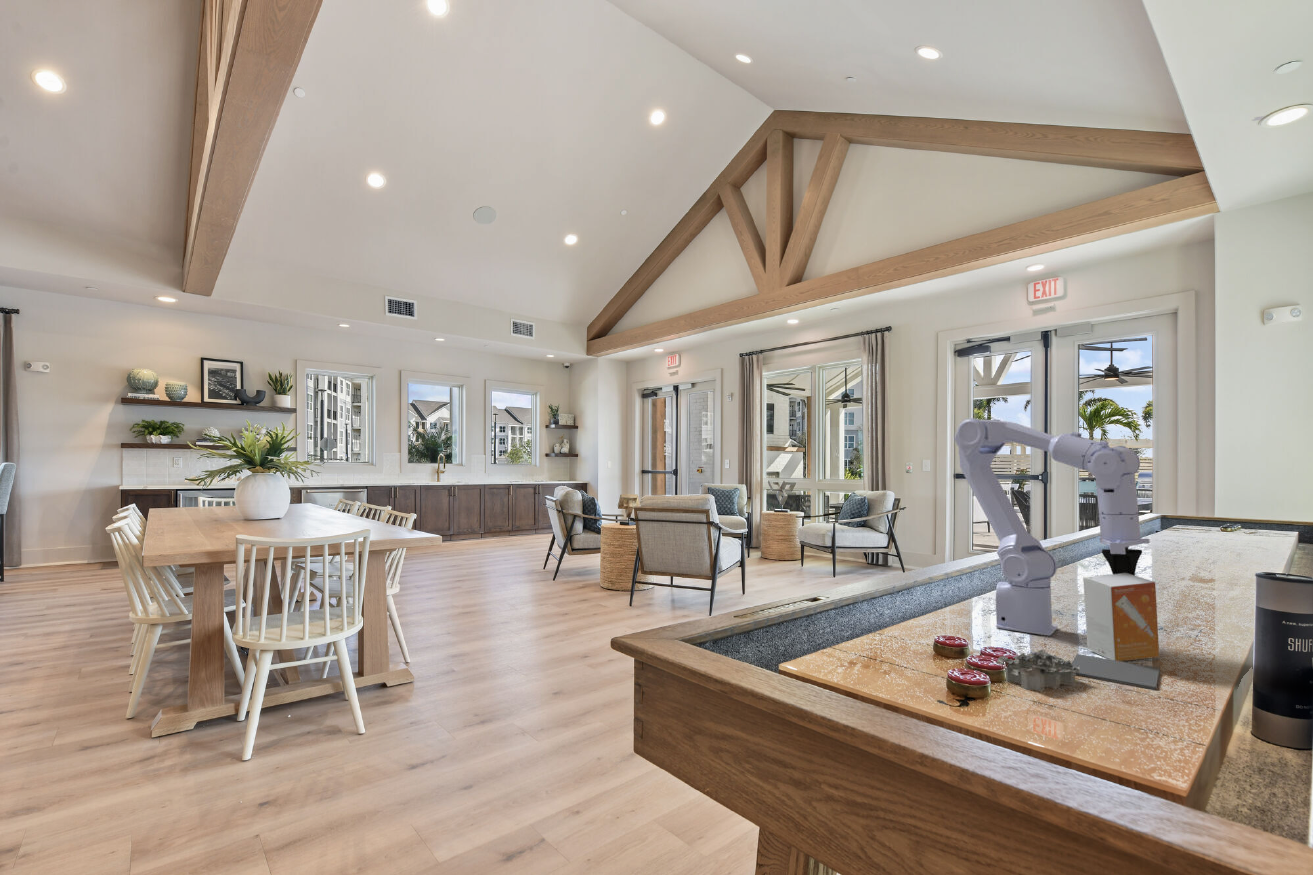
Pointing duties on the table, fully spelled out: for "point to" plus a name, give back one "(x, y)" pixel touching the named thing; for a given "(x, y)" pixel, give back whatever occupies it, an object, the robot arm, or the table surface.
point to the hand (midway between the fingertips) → (1125, 590)
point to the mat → (1117, 671)
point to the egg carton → (1039, 670)
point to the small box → (1121, 616)
